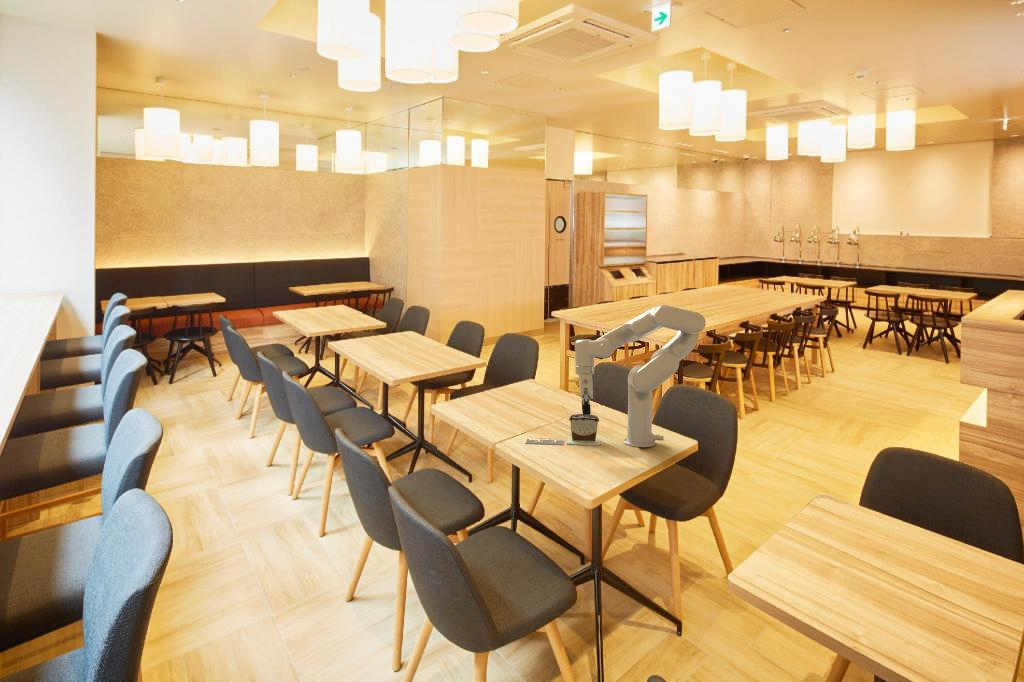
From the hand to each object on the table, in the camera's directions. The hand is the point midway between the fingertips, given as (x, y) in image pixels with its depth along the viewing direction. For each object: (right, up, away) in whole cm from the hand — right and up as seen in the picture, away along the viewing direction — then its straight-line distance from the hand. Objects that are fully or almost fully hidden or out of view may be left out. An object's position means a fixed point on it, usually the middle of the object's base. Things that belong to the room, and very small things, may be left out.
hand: (586, 411), depth 224 cm
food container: (-1, -12, +2) cm, 12 cm away
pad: (-1, -12, +1) cm, 12 cm away
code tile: (-17, -12, +1) cm, 21 cm away
